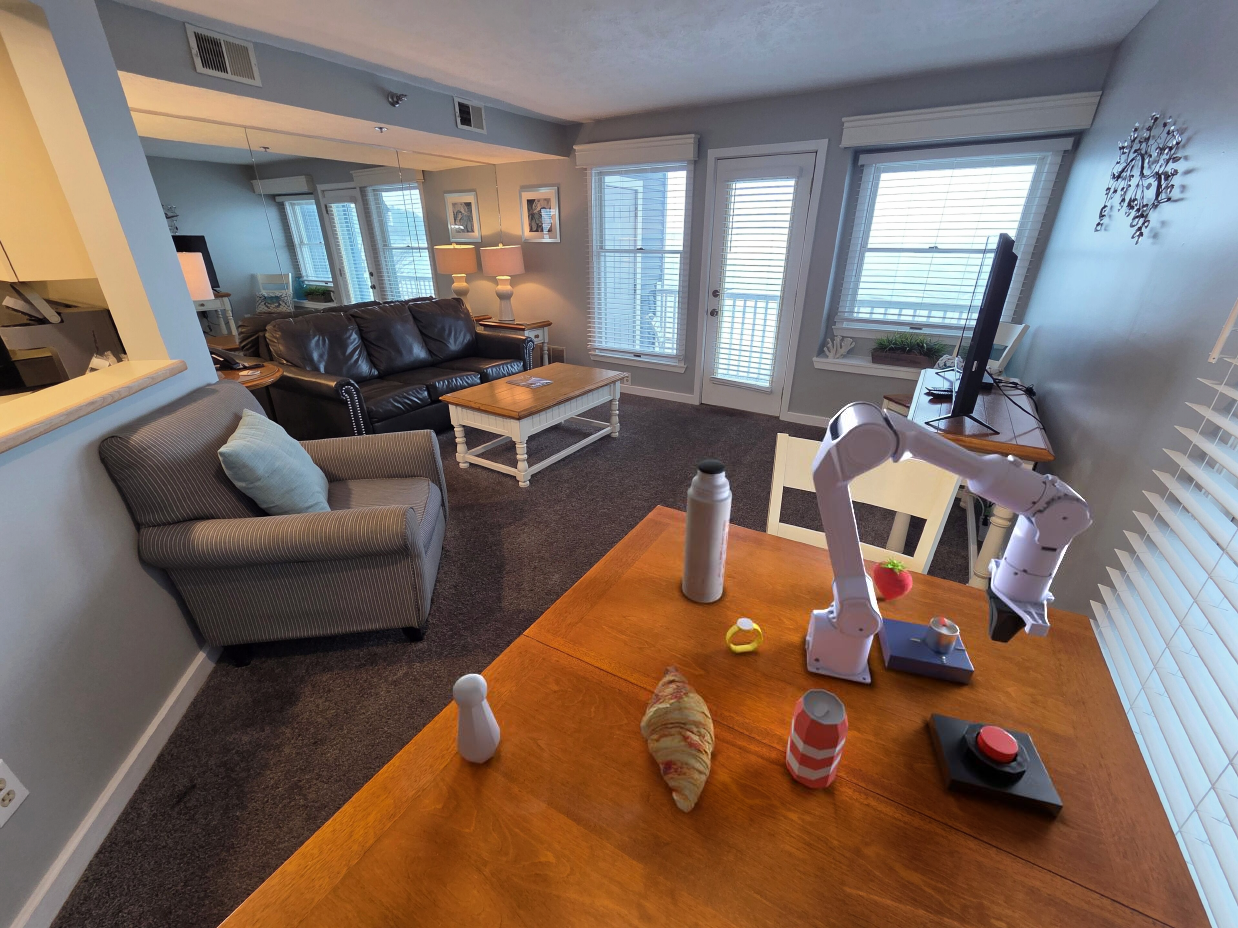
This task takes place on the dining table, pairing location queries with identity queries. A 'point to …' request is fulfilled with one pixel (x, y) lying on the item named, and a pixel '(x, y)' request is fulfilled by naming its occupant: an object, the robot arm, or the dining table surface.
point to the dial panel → (922, 653)
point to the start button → (997, 744)
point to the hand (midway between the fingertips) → (997, 638)
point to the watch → (744, 626)
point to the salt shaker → (475, 720)
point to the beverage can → (816, 738)
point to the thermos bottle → (706, 532)
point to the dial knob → (941, 635)
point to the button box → (992, 767)
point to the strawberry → (892, 579)
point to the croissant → (679, 737)
